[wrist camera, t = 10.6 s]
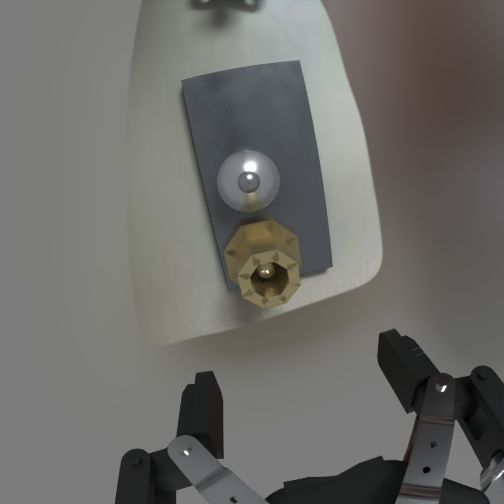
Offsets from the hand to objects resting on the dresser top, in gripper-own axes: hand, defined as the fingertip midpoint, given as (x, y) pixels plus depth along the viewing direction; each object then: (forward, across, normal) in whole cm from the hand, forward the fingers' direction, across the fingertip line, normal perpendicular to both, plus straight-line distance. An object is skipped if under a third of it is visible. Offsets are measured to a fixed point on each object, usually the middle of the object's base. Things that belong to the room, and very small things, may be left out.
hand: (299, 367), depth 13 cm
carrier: (+18, -1, -7) cm, 19 cm away
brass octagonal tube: (+17, 0, +1) cm, 17 cm away
